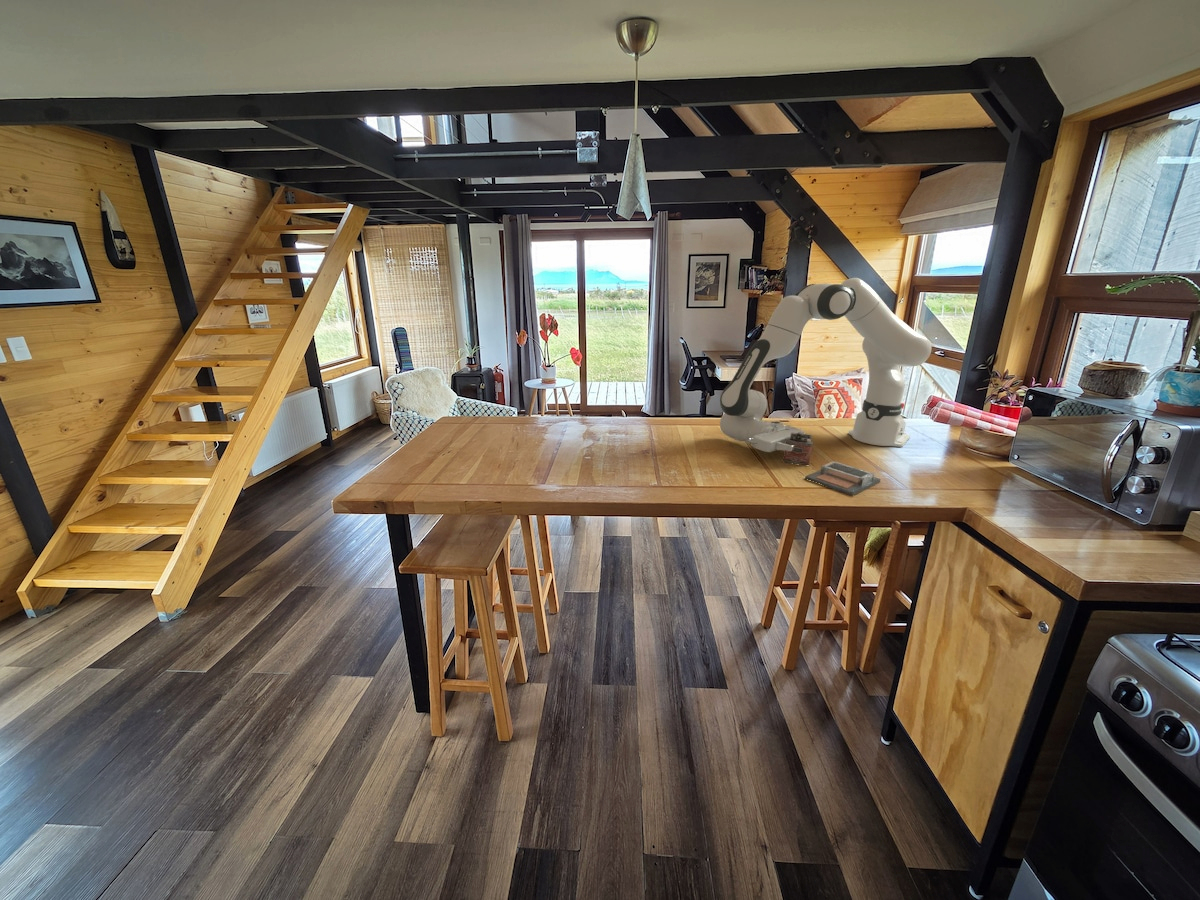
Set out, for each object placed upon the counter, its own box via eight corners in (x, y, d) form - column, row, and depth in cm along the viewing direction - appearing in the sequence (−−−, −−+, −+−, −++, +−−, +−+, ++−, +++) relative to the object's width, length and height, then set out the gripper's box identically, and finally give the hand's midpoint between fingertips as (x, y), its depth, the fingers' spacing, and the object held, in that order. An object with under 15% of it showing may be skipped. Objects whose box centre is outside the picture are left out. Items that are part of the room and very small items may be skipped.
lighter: (781, 462, 153) (786, 432, 150) (783, 459, 156) (787, 429, 153) (808, 467, 150) (814, 436, 146) (809, 463, 152) (815, 433, 149)
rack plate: (832, 467, 150) (834, 458, 149) (879, 482, 139) (882, 472, 138) (804, 479, 140) (806, 469, 139) (852, 496, 130) (855, 486, 129)
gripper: (744, 430, 153) (783, 442, 143) (781, 420, 165) (819, 430, 155) (742, 449, 155) (780, 462, 145) (779, 437, 167) (816, 448, 157)
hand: (801, 445), depth 150 cm, fingers open, 8 cm apart
